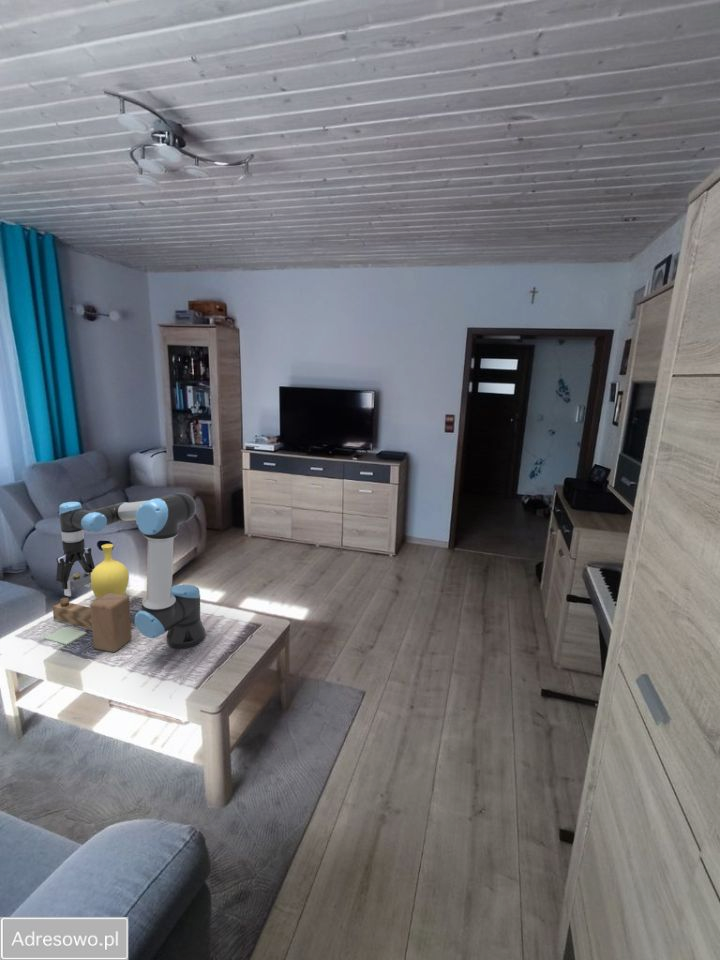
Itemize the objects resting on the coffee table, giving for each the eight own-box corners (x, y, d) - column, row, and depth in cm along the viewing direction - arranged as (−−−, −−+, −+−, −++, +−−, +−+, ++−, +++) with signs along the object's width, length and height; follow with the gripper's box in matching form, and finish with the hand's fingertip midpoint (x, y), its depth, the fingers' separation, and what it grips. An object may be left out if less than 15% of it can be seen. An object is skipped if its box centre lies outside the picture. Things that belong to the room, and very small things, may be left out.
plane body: (111, 626, 186) (109, 599, 183) (100, 633, 181) (98, 604, 178) (64, 615, 193) (62, 588, 190) (53, 621, 188) (50, 593, 185)
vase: (83, 605, 202) (78, 549, 196) (108, 590, 217) (104, 538, 211) (114, 610, 199) (110, 553, 194) (137, 594, 215) (134, 541, 209)
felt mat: (86, 633, 180) (86, 632, 180) (66, 645, 172) (66, 644, 171) (64, 627, 183) (64, 626, 183) (43, 639, 175) (43, 637, 175)
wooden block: (114, 653, 168) (111, 607, 164) (92, 649, 170) (88, 603, 166) (132, 639, 178) (129, 595, 174) (111, 635, 180) (108, 591, 175)
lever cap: (91, 582, 182) (90, 572, 181) (73, 590, 175) (72, 579, 174) (80, 579, 184) (79, 569, 183) (62, 587, 177) (61, 576, 176)
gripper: (89, 530, 186) (92, 579, 191) (40, 546, 167) (46, 600, 171) (102, 533, 184) (106, 582, 189) (55, 549, 164) (60, 603, 169)
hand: (77, 590), depth 180 cm, fingers closed on lever cap, 8 cm apart
